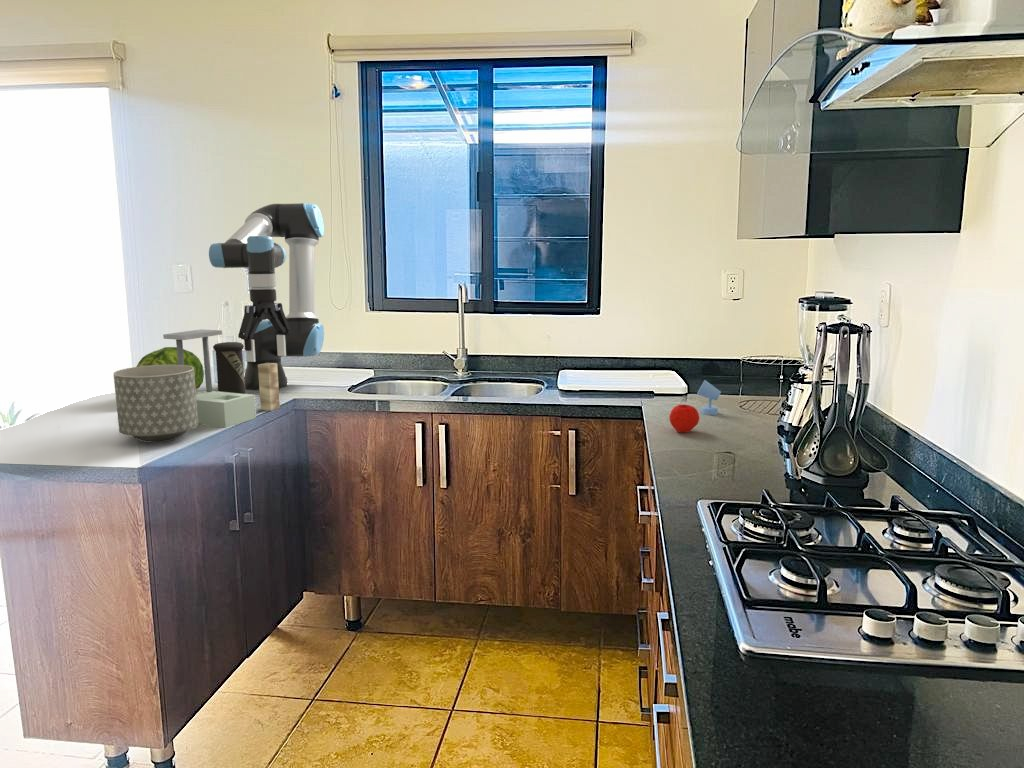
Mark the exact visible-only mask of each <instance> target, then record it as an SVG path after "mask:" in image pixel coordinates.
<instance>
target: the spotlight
mask: <svg viewBox="0 0 1024 768" xmlns="http://www.w3.org/2000/svg"><path fill="white" fill-rule="evenodd" d="M721 393H722V391H721V390H719V389H718V388H716V387H715V386H714V385H713V384H711V383H710V382H708V381H707V380H706V379H704V380H703V381H702V383H701V385H700V387H699V389H698V391H697V394H696V395H698V396H701V397H703V398H707V399H708V406H707V405H705V406H702V407H701V414H702V415H706V416H715V415H718V412H719V411H718V409H719V408H718V407H716V406H712V400H713V401H717V400H718V399H719V397H720V395H721Z"/></svg>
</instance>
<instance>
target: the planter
mask: <svg viewBox="0 0 1024 768" xmlns="http://www.w3.org/2000/svg"><path fill="white" fill-rule="evenodd" d="M113 382H114V392H115V393H114V395H115V403H116V412H117V422H118V431H119V433H120V434H121V435H124V436H131V437H132V438H134V439H136V440H138V441H143V442H147V443H163V442H168V441H172V440H175V439H177V438H179V437H180V438H181V437H182V436H183V435H185V434H186V433H187V432H188V431H190V430H192V429H195V428H196V427H198V425H199V424H198V411H197V399H196V393H197V389H196V386H195V374H194V368H193V367H192V366H187V365H150V366H140V367H136V366H133V367H127V368H122V369H119V370H116V371H114V372H113ZM162 441H163V442H162Z"/></svg>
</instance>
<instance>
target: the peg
mask: <svg viewBox="0 0 1024 768" xmlns="http://www.w3.org/2000/svg"><path fill="white" fill-rule="evenodd" d="M258 375H259V389H258V390H259V402H260V411H270V412H272V411H275V410H279V409H281V408H280V407H281V406H280V405H281V404H280V391H279V389H280V388H279V385H278V368H277V363H263V364H259V365H258Z"/></svg>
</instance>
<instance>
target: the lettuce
mask: <svg viewBox="0 0 1024 768" xmlns="http://www.w3.org/2000/svg"><path fill="white" fill-rule="evenodd" d="M183 355H184V365H187V366H192V367H193V368H194V374H195V386H196V390H198V389H199V388H200V387H201V385H202V384H203V382H204V379H205V370H204V366H203V365H204V364H203V363H202V361H201V360H200V358H199V357H198V356H197V355H195V354H194V352H192V351H189V350H187V349H184V348H183ZM150 365H178V357H177V346H175V347H174V346H170V347H169V346H165V347H162V348H159V349H158V350H154V351H152V352H149V353H147V354H145V355H144V356H142V358H141V359H139V362H138V363H137V365H136V366H135V367H140V366H150Z"/></svg>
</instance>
